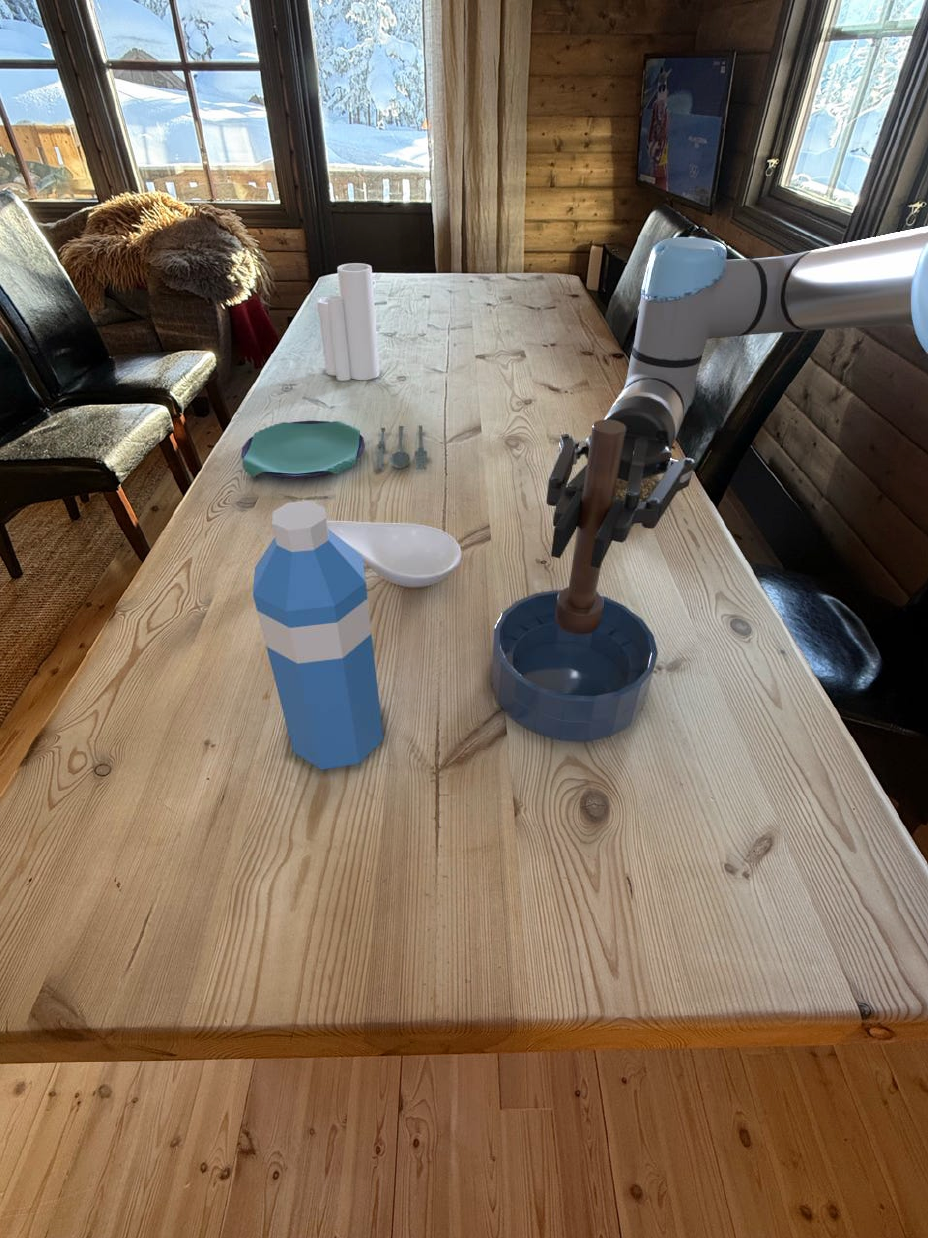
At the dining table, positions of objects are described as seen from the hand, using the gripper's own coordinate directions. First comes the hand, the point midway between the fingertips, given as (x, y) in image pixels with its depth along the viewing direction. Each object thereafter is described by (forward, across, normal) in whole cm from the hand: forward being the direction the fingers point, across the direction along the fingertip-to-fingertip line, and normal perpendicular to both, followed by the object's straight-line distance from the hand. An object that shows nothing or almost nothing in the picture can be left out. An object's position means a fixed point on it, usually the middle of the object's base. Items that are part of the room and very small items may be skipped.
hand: (577, 548), depth 53 cm
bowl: (-5, 0, -21) cm, 22 cm away
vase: (-72, +66, -22) cm, 100 cm away
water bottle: (+10, +19, -21) cm, 30 cm away
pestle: (-5, 0, -12) cm, 13 cm away
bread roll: (-48, +4, -22) cm, 53 cm away
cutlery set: (-40, +50, -22) cm, 67 cm away
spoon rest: (-14, +29, -22) cm, 38 cm away
